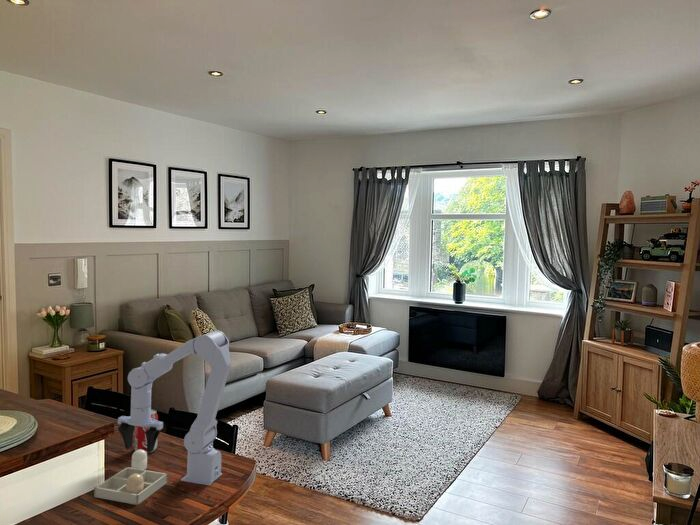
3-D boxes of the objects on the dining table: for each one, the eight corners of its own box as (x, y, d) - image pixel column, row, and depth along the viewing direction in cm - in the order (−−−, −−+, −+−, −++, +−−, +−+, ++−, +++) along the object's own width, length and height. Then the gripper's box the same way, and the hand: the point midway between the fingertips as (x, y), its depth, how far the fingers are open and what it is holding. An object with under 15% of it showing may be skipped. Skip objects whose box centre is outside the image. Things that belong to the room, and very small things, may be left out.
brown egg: (146, 494, 141) (147, 471, 140) (136, 501, 136) (137, 478, 136) (132, 491, 142) (133, 469, 141) (122, 499, 137) (122, 476, 137)
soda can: (141, 456, 165) (142, 417, 165) (129, 450, 170) (131, 412, 169) (161, 450, 171) (162, 412, 171) (149, 444, 175) (150, 407, 175)
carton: (167, 483, 148) (167, 473, 148) (137, 506, 135) (137, 495, 135) (127, 476, 151) (127, 467, 151) (94, 498, 138) (94, 487, 138)
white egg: (149, 467, 158) (150, 448, 158) (140, 473, 153) (141, 453, 153) (137, 465, 159) (138, 446, 159) (128, 471, 155) (128, 451, 154)
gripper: (169, 404, 158) (168, 447, 158) (129, 399, 161) (127, 441, 162) (155, 411, 151) (154, 456, 151) (113, 405, 154) (112, 449, 155)
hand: (139, 449), depth 156 cm, fingers open, 7 cm apart
